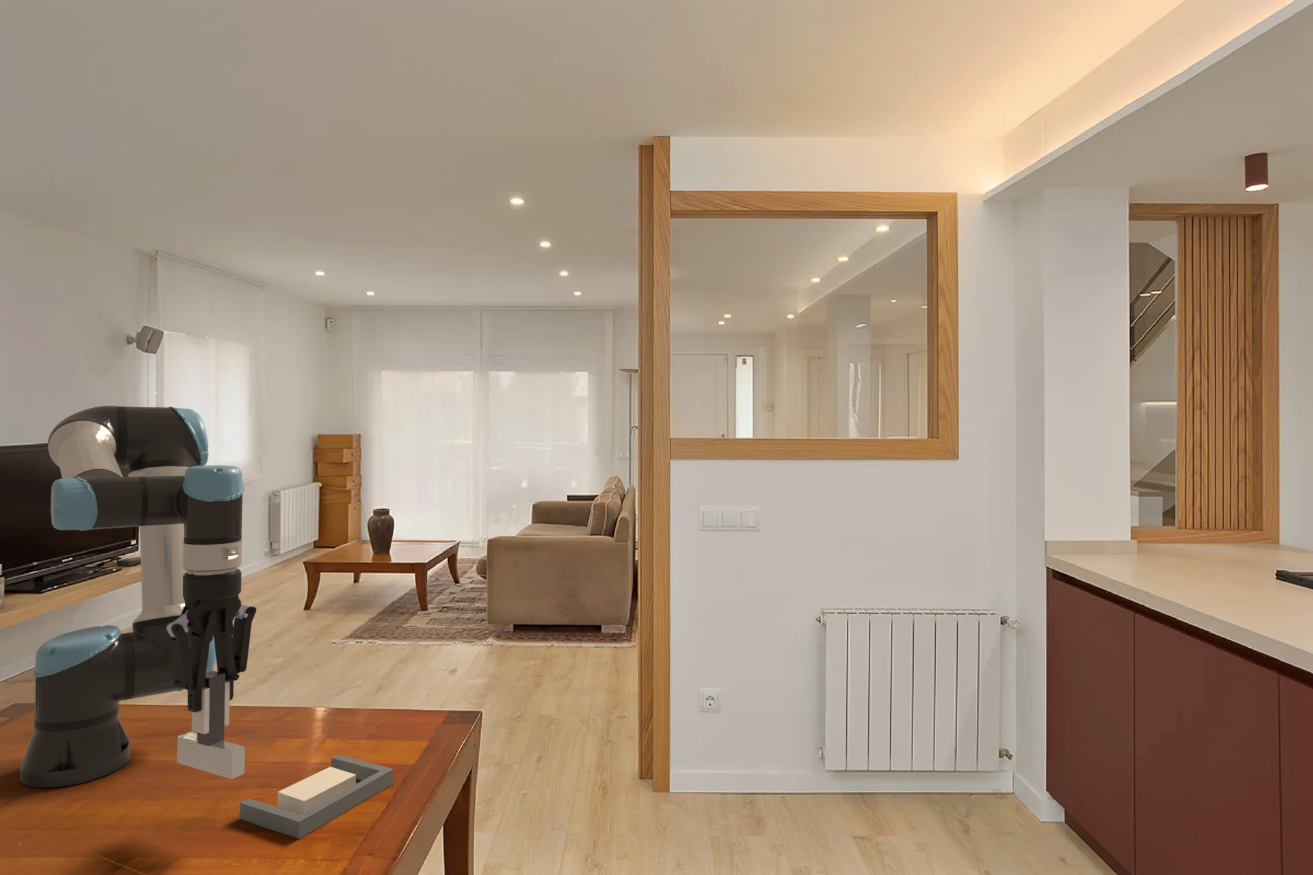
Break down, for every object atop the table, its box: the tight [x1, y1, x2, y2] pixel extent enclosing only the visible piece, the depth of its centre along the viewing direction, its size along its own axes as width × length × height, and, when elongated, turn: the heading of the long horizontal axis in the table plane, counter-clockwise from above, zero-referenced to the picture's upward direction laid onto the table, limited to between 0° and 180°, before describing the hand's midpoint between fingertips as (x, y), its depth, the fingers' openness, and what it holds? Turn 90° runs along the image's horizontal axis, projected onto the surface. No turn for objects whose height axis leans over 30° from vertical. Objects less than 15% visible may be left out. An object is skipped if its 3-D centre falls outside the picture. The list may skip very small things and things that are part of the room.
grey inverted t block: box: [176, 670, 246, 780], centre depth 113 cm, size 12×2×14 cm, turn 66°
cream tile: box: [276, 766, 357, 815], centre depth 122 cm, size 6×10×3 cm, turn 154°
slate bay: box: [239, 754, 395, 840], centre depth 122 cm, size 12×19×2 cm, turn 156°
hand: (210, 727), depth 113 cm, fingers closed on grey inverted t block, 2 cm apart
